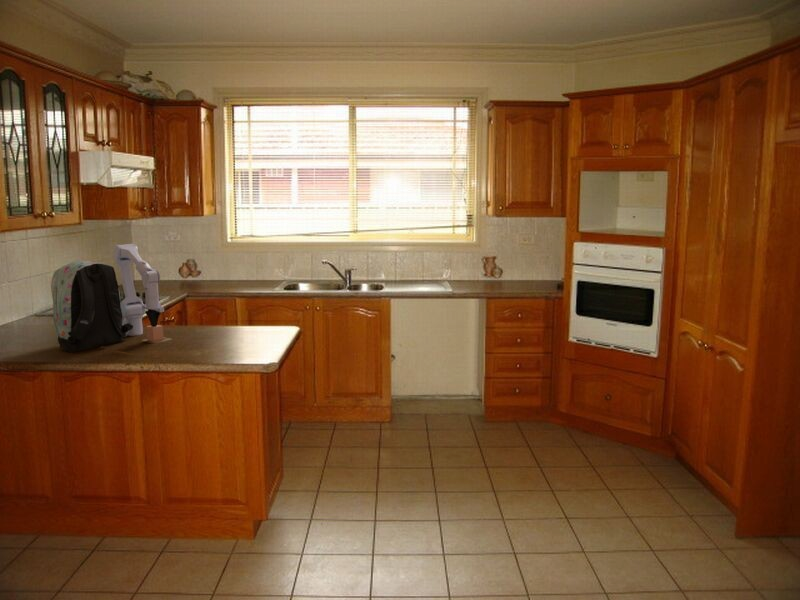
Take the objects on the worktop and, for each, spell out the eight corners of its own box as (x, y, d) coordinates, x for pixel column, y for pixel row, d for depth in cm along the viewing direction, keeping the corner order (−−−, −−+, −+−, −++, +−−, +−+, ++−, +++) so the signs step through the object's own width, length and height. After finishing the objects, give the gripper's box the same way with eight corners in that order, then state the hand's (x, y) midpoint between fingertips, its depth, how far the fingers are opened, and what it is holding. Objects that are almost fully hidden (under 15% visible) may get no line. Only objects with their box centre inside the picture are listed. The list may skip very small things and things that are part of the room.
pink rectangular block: (147, 340, 306) (146, 326, 304) (157, 338, 310) (156, 324, 308) (153, 341, 302) (152, 327, 301) (163, 339, 307) (162, 325, 305)
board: (141, 341, 306) (141, 340, 306) (160, 337, 314) (160, 336, 314) (154, 345, 300) (153, 343, 300) (173, 340, 308) (172, 339, 308)
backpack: (102, 335, 320) (95, 256, 314) (137, 340, 309) (131, 258, 302) (40, 350, 292) (30, 263, 285) (76, 356, 281) (67, 266, 274)
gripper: (169, 297, 301) (171, 326, 304) (150, 294, 310) (152, 322, 312) (155, 299, 296) (157, 328, 298) (137, 296, 304) (139, 325, 307)
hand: (154, 325), depth 305 cm, fingers closed
